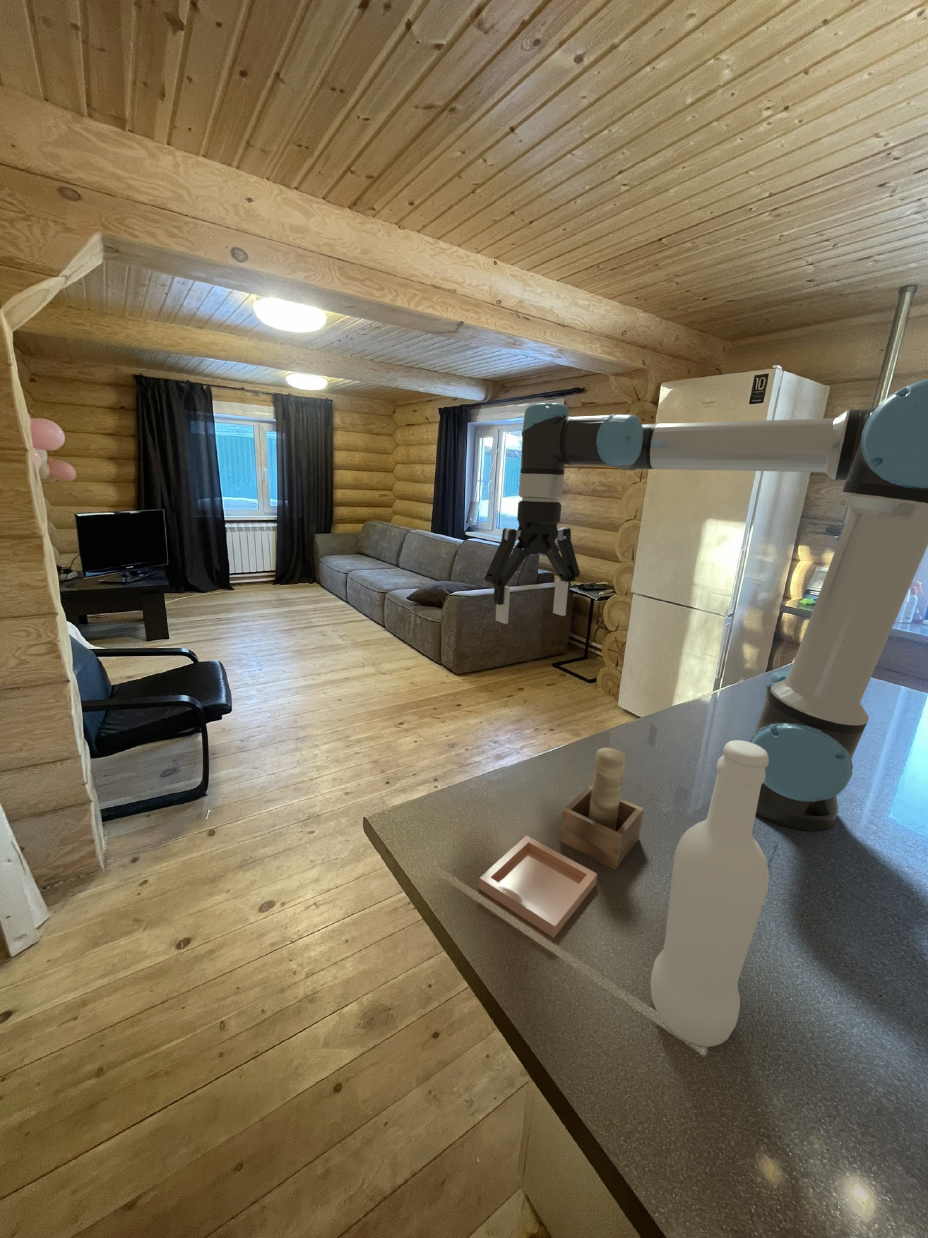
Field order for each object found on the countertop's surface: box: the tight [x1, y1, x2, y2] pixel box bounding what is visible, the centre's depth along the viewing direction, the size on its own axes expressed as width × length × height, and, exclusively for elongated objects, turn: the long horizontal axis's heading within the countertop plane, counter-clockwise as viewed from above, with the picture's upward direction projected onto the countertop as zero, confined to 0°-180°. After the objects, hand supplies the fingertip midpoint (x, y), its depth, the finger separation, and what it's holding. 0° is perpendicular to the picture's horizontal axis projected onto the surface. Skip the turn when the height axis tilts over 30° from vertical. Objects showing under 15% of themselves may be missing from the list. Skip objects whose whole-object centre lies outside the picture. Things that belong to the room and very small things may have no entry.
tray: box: [477, 835, 598, 944], centre depth 66 cm, size 11×11×2 cm
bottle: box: [650, 739, 770, 1048], centre depth 48 cm, size 8×8×30 cm
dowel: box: [588, 747, 627, 831], centre depth 74 cm, size 4×4×14 cm
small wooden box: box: [559, 784, 645, 871], centre depth 75 cm, size 9×9×6 cm
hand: (531, 618), depth 95 cm, fingers open, 13 cm apart
